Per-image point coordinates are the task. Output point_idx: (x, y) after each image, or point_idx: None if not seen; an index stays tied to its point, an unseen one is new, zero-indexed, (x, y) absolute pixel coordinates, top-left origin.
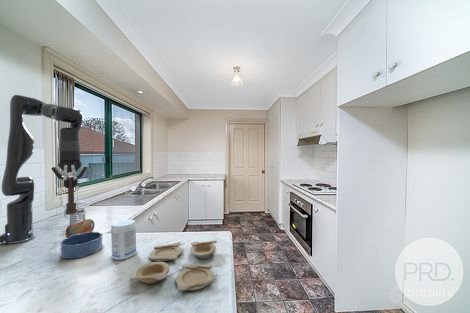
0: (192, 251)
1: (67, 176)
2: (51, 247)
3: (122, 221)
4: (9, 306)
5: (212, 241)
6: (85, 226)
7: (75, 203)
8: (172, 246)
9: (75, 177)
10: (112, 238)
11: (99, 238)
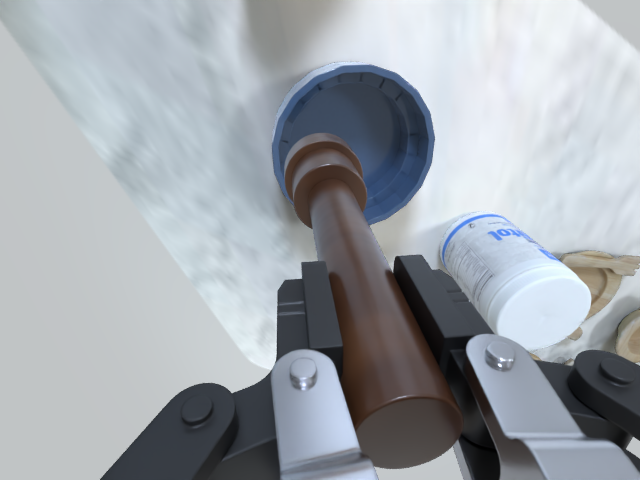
0: (623, 341)
1: (340, 426)
2: (189, 12)
3: (546, 299)
4: (256, 362)
5: None
6: None
7: (362, 206)
8: (609, 268)
9: (489, 448)
10: (470, 301)
11: (421, 184)
